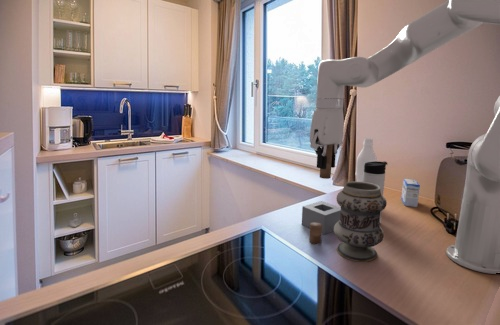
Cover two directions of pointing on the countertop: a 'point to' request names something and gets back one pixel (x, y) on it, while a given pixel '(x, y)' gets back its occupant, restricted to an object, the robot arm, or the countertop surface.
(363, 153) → the water bottle
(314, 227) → the short pin
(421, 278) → the countertop surface
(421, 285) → the countertop surface
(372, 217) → the apothecary jar
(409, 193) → the medicine box
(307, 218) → the socket block
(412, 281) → the countertop surface
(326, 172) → the long pin
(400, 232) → the countertop surface
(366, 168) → the travel mug
